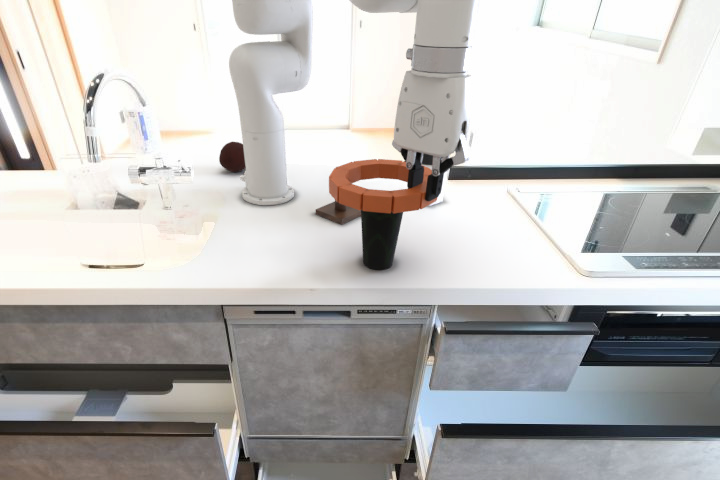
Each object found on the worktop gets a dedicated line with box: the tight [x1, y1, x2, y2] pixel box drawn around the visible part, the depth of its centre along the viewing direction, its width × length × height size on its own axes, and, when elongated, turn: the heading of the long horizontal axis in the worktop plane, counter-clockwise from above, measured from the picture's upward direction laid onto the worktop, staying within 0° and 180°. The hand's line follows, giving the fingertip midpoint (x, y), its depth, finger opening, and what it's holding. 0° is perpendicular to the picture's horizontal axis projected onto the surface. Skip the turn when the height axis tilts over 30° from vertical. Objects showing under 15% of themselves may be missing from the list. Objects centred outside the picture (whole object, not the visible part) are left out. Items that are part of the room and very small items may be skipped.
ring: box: [328, 158, 437, 213], centre depth 75 cm, size 18×18×3 cm
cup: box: [360, 209, 404, 271], centre depth 80 cm, size 8×8×12 cm
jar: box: [422, 154, 449, 207], centre depth 105 cm, size 9×8×12 cm
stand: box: [315, 199, 361, 225], centre depth 99 cm, size 8×8×8 cm
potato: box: [218, 141, 246, 173], centre depth 121 cm, size 8×9×8 cm
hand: (423, 195), depth 71 cm, fingers closed on ring, 2 cm apart
